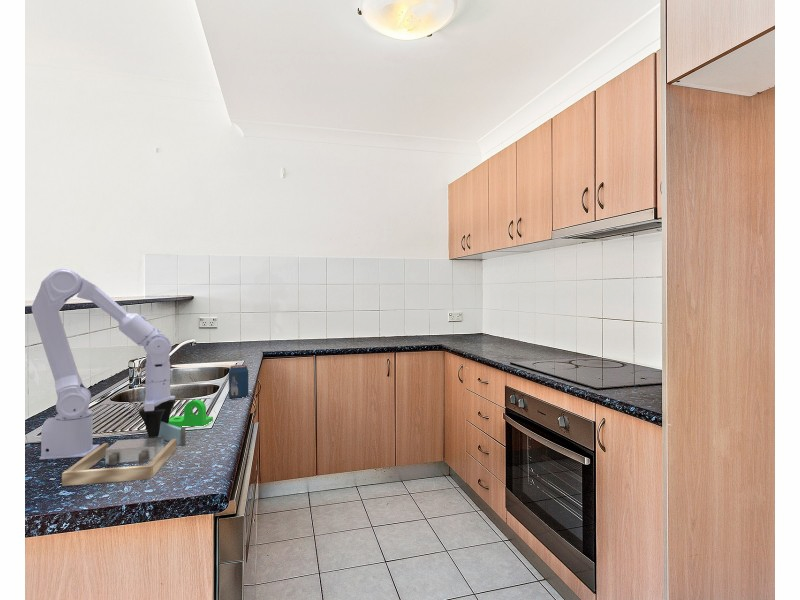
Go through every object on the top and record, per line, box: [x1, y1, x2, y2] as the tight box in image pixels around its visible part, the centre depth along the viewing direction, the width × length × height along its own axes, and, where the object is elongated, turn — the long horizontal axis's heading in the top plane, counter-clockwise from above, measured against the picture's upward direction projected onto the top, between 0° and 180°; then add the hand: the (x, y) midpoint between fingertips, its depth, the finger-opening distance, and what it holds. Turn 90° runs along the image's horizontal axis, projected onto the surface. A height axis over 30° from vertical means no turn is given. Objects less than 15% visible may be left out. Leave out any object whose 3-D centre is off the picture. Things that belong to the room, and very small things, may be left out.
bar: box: [157, 421, 182, 446], centre depth 116 cm, size 1×12×4 cm, turn 53°
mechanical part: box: [168, 399, 214, 428], centre depth 130 cm, size 12×6×8 cm, turn 85°
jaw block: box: [104, 437, 165, 465], centre depth 104 cm, size 10×7×4 cm
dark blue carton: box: [228, 364, 249, 398], centre depth 166 cm, size 7×7×12 cm
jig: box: [61, 427, 187, 487], centre depth 100 cm, size 18×22×4 cm
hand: (158, 432), depth 117 cm, fingers open, 7 cm apart
